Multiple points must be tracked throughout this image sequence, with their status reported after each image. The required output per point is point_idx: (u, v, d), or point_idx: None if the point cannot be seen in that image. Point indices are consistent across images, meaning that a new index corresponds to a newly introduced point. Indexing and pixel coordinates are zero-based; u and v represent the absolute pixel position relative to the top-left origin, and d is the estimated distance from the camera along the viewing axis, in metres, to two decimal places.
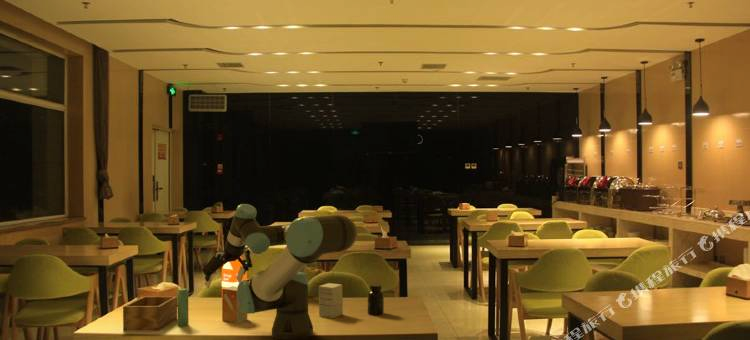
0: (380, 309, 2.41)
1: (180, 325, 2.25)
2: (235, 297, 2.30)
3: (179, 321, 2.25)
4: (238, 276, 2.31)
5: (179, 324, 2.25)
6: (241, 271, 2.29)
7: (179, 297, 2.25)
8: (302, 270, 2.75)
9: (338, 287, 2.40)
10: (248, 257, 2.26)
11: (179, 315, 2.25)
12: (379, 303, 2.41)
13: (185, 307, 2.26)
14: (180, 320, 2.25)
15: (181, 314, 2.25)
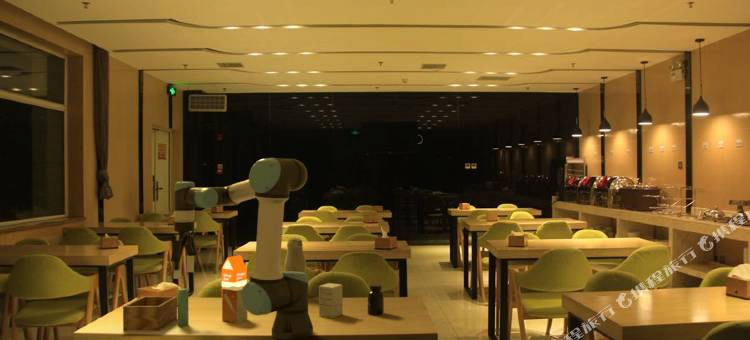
0: (380, 309, 2.41)
1: (180, 325, 2.25)
2: (235, 297, 2.30)
3: (179, 321, 2.25)
4: (188, 267, 2.34)
5: (179, 324, 2.25)
6: (190, 259, 2.34)
7: (179, 297, 2.25)
8: (302, 270, 2.75)
9: (338, 287, 2.40)
10: (193, 239, 2.34)
11: (179, 315, 2.25)
12: (379, 303, 2.41)
13: (185, 307, 2.26)
14: (180, 320, 2.25)
15: (181, 314, 2.25)
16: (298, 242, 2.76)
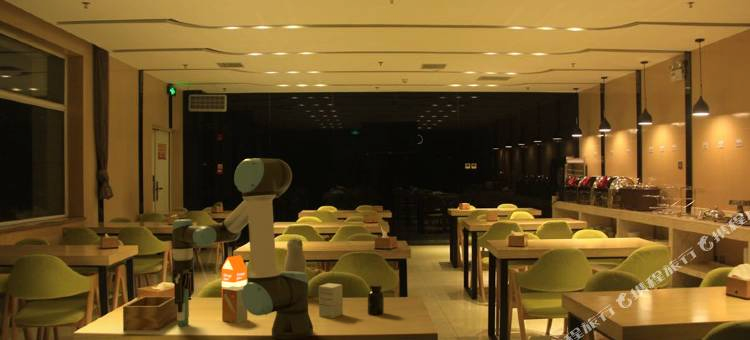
0: (380, 309, 2.41)
1: (180, 325, 2.25)
2: (235, 297, 2.30)
3: (179, 321, 2.25)
4: None
5: (179, 324, 2.25)
6: None
7: None
8: (302, 270, 2.75)
9: (338, 287, 2.40)
10: (190, 281, 2.32)
11: None
12: (379, 303, 2.41)
13: (185, 307, 2.26)
14: None
15: None
16: (298, 242, 2.76)
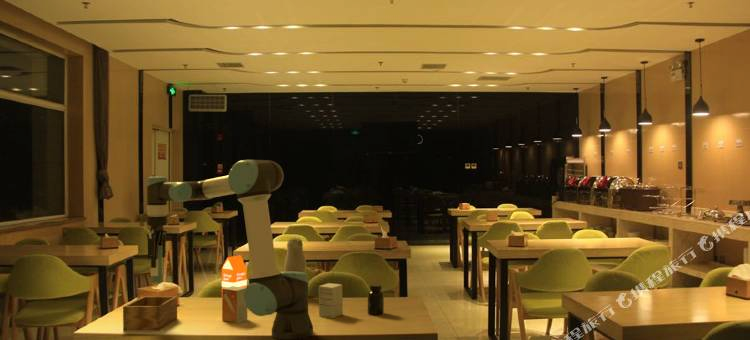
0: (380, 309, 2.41)
1: (153, 281, 2.27)
2: (235, 297, 2.30)
3: (152, 277, 2.27)
4: None
5: (152, 280, 2.27)
6: None
7: None
8: (302, 270, 2.75)
9: (338, 287, 2.40)
10: (165, 238, 2.34)
11: None
12: (379, 303, 2.41)
13: (158, 263, 2.28)
14: None
15: None
16: (298, 242, 2.76)
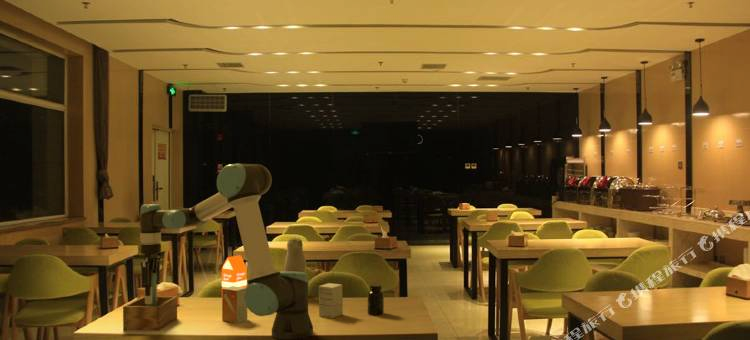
0: (380, 309, 2.41)
1: None
2: (235, 297, 2.30)
3: (147, 305, 2.27)
4: None
5: None
6: None
7: None
8: (302, 270, 2.75)
9: (338, 287, 2.40)
10: (159, 265, 2.34)
11: None
12: (379, 303, 2.41)
13: (152, 291, 2.28)
14: None
15: None
16: (298, 242, 2.76)
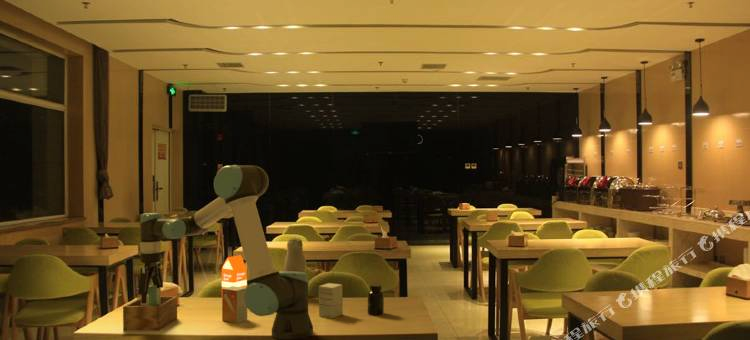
0: (380, 309, 2.41)
1: None
2: (235, 297, 2.30)
3: None
4: None
5: None
6: (157, 291, 2.35)
7: (147, 293, 2.27)
8: (302, 270, 2.75)
9: (338, 287, 2.40)
10: (160, 271, 2.36)
11: None
12: (379, 303, 2.41)
13: (152, 304, 2.28)
14: None
15: None
16: (298, 242, 2.76)
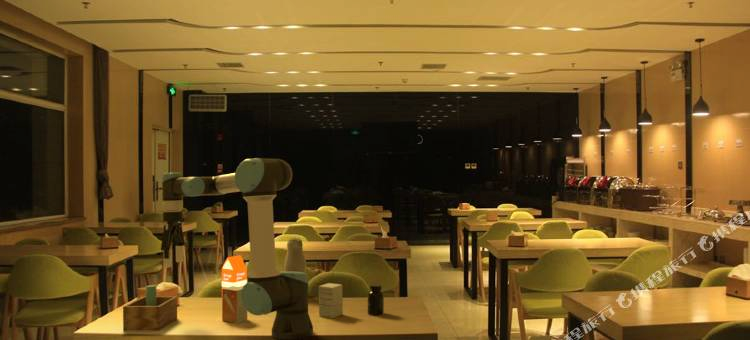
0: (380, 309, 2.41)
1: None
2: (235, 297, 2.30)
3: None
4: (178, 257, 2.38)
5: None
6: (179, 249, 2.38)
7: (147, 294, 2.27)
8: (302, 270, 2.75)
9: (338, 287, 2.40)
10: (181, 230, 2.39)
11: None
12: (379, 303, 2.41)
13: (152, 304, 2.28)
14: None
15: None
16: (298, 242, 2.76)
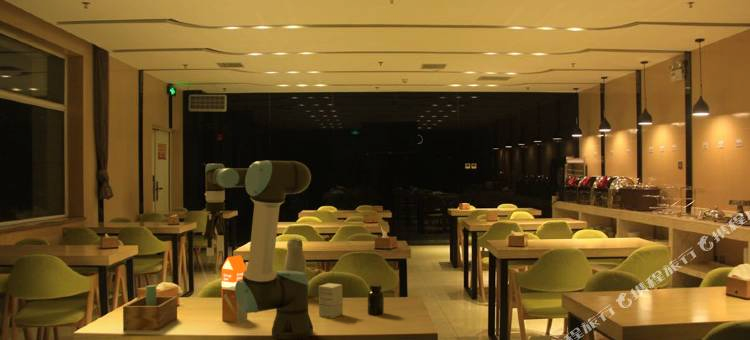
0: (380, 309, 2.41)
1: None
2: (235, 297, 2.30)
3: None
4: (219, 246, 2.43)
5: None
6: (221, 238, 2.43)
7: (147, 294, 2.27)
8: (302, 270, 2.75)
9: (338, 287, 2.40)
10: (223, 220, 2.44)
11: None
12: (379, 303, 2.41)
13: (152, 304, 2.28)
14: None
15: None
16: (298, 242, 2.76)
